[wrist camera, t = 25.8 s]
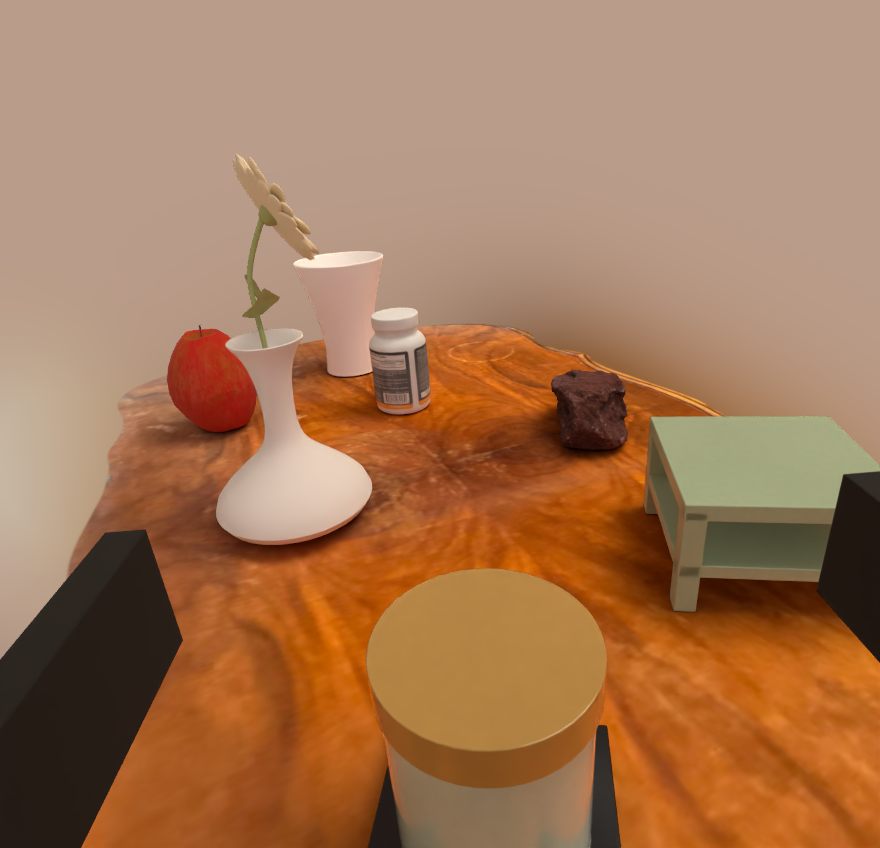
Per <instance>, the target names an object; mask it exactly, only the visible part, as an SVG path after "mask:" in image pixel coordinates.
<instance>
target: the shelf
mask: <svg viewBox="0 0 880 848" xmlns="http://www.w3.org/2000/svg"><path fill="white" fill-rule="evenodd" d="M876 471H880V465H879V464H878V463H877V462H875V460H873V458H871V457H870V456H869V455H868V454H867V453H866V452H865V451H864V450H863V449H862V448H861V447H860V446H859V445H858V444H857V443H856V442H855V441H854V440H853V439H852V438H850V436H848V435H847V434H846V433H845V432H844V431H843V430H842V429H841V428H840V427H839V426H838V425H837V424H836V423H835V422H834V421H833V420H832V419H831V418H830V417H828V416H807V417H806V416H802V417H801V416H797V417H796V416H795V417H794V416H789V417H788V416H782V417H651V418H650V430H649V442H648V454H647V467H646V479H645V491H644V504H643V505H644V509H645V512H646V514H658V516H659V519H660V522H661V526H662V529H663V532H664V535H665V538H666V542H667V545H668V548H669V551H670V554H671V558H672V561H673V570H672V579H671V589H670V600H671V604H672V607H673V610H674V611H686V612H695V611H696V604H697V597H698V589H699V582H700V578H726V579H752V580H779V581H805V582H818V581H819V577H820V573H821V568H822V564H823V560H824V555H825V551H826V547H827V542H828V538H829V534H830V529H831V525H832V521H833V516H834V512H835V508H836V503H837V499H838V495H839V490H840V486H841V482H842V477H843V474H851V473H864V472H876Z"/></svg>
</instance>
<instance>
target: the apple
mask: <svg viewBox="0 0 880 848" xmlns="http://www.w3.org/2000/svg"><path fill="white" fill-rule="evenodd" d="M230 339H231V338H230V337H229V336H228V335H226V334H224V333H222V332H221V331H219V330H217V329H204V330H201V327H200V325H199V330H193V331H188V332H186V333H185V334H184V335H183V336H182V338H181V339H180V340H179V341H178V343H177V345H176V347H175V349H174V351H173V353H172V356H171V359H170V363H169V366H168V375H167V382H168V389H169V394H170V396H171V398H172V401H173V403H174V405H175V406H176V407H177V408H178V409H179V410H180V411H181V412H182V413H183V414H184V415H185V416H186V417H187V418H188V419H189V420H191V421H192V422H193V423H194V424H195V425H197V426H198V427H200V428H202V429H204V430H207V431H211V432H225V431H228V430H232V429H235V428H239V427H242V426H244V425H245V424H246V423H248V422H249V421H250V419H251V416H252V414H253V412H254V409H255V405H256V396H257V392H256V389H255V386H254V383H253V381H252V379H251V377H250V375H249V373H248V371H247V370H246V368H245V367H244V365H243V363H242V362H241V361H240V360H239V359H238V358H237V357H236V356H235V355H234V354H233V353H232V352H231V351H229V350H228V349H227V347H226V346H225V344H226V342H228V341H229V340H230Z"/></svg>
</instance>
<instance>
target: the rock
mask: <svg viewBox="0 0 880 848" xmlns="http://www.w3.org/2000/svg"><path fill="white" fill-rule="evenodd" d="M551 386H552V392H554V393H555V395H556V396H557V400H558V403H557V415H558V418H559V421H560V423H561V432H560V439H561V440H562V443H563V445H564V446H566V447H569V448H580V449H588V450H594V449H596V450H597V449H613V448H616V447H618V446H620V445H621V444H623V443H625V442H626V441H627V429H626V425H625V422H624V418H625V417H626V416H627V410H626V404H625V403H624V402H623V401H624V400H623V397H624V395H625V390H626V388H625V386H624V385H623V383H622V381H621V380H620V379H619V377H618V376H617V375H616V374H614V373H605V372H603V371H596V372H588V371H580V370H571V371H570V372H567V373H566V374H564V375H559V376H555V377H554V378H553V380H552V383H551Z"/></svg>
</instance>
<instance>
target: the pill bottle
mask: <svg viewBox="0 0 880 848" xmlns="http://www.w3.org/2000/svg"><path fill="white" fill-rule="evenodd" d="M371 323H372V328H373V330H374V331H375V335H374V336H373V337H372V338H371V340H370V343H369V350H370V357H371V364H372V372H373V379H374V387H375V394H376V401H377V405H378V407H379V409H380V410H382V411H383V412H386V413H389V414H400V415H401V414H410V413H414V412H418V411H420V410H422V409H424V408H425V407H427V406H428V404H429V403H430V384H429V372H428V360H427V349H426V340H425V337H424V335H423V334H422V333H421V332H420V331H418V330H417V326H418V324H419V318H418V312H417V310H415V309H411V308H391V309H385V310H381V311H378V312H376V313H374V314H372V315H371Z"/></svg>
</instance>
